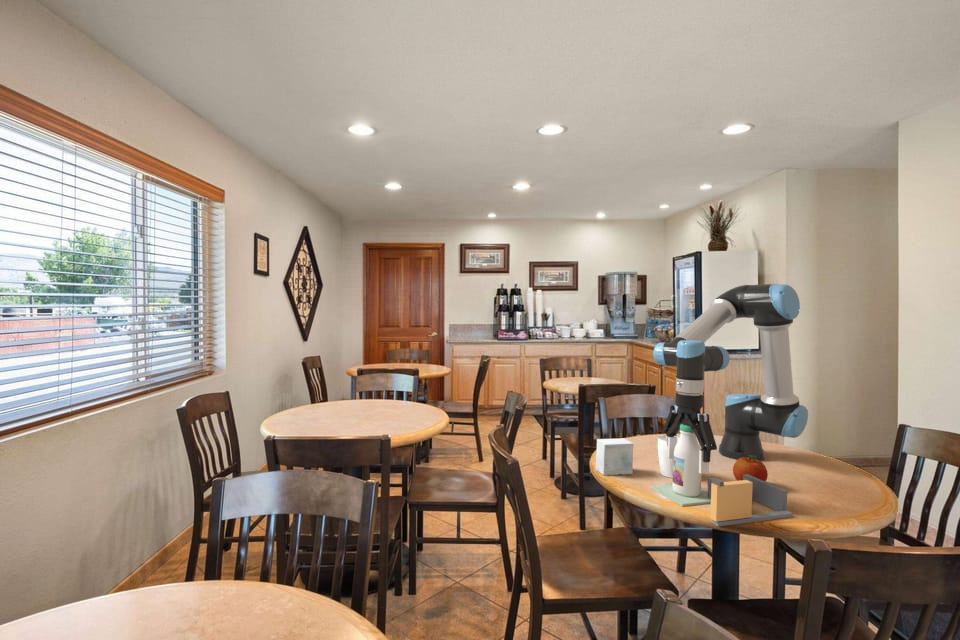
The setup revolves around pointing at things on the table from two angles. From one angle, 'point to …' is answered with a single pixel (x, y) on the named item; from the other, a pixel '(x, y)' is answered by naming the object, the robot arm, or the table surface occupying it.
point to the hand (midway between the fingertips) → (687, 465)
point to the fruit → (749, 468)
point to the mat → (682, 500)
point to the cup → (665, 457)
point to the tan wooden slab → (730, 500)
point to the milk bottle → (686, 464)
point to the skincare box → (614, 456)
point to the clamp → (763, 495)
